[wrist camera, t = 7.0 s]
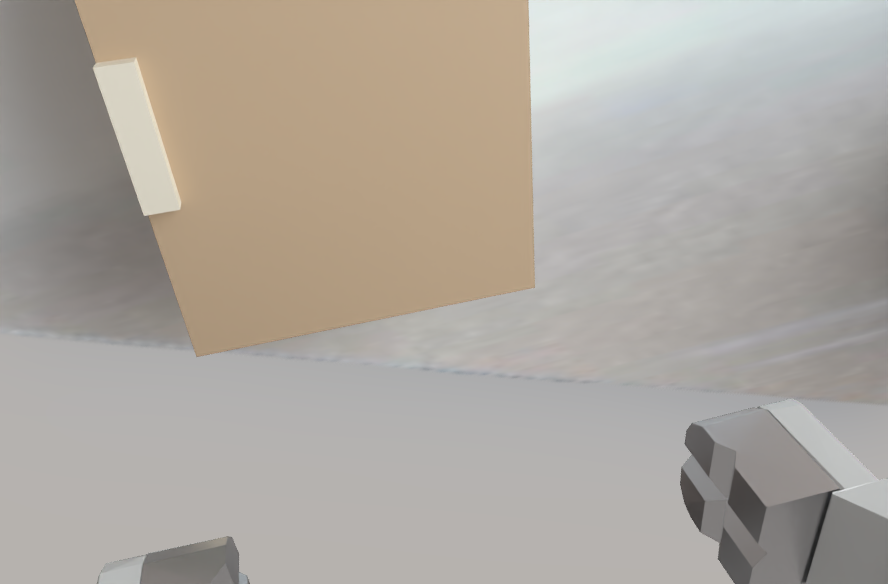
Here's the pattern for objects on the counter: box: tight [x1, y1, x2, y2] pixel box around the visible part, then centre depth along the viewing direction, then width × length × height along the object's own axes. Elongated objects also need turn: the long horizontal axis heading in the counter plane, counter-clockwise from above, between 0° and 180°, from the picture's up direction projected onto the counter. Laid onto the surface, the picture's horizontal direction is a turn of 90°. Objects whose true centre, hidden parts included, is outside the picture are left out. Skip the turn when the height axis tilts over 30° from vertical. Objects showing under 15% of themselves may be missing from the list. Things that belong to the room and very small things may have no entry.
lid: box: [75, 0, 535, 357], centre depth 25 cm, size 14×18×2 cm
